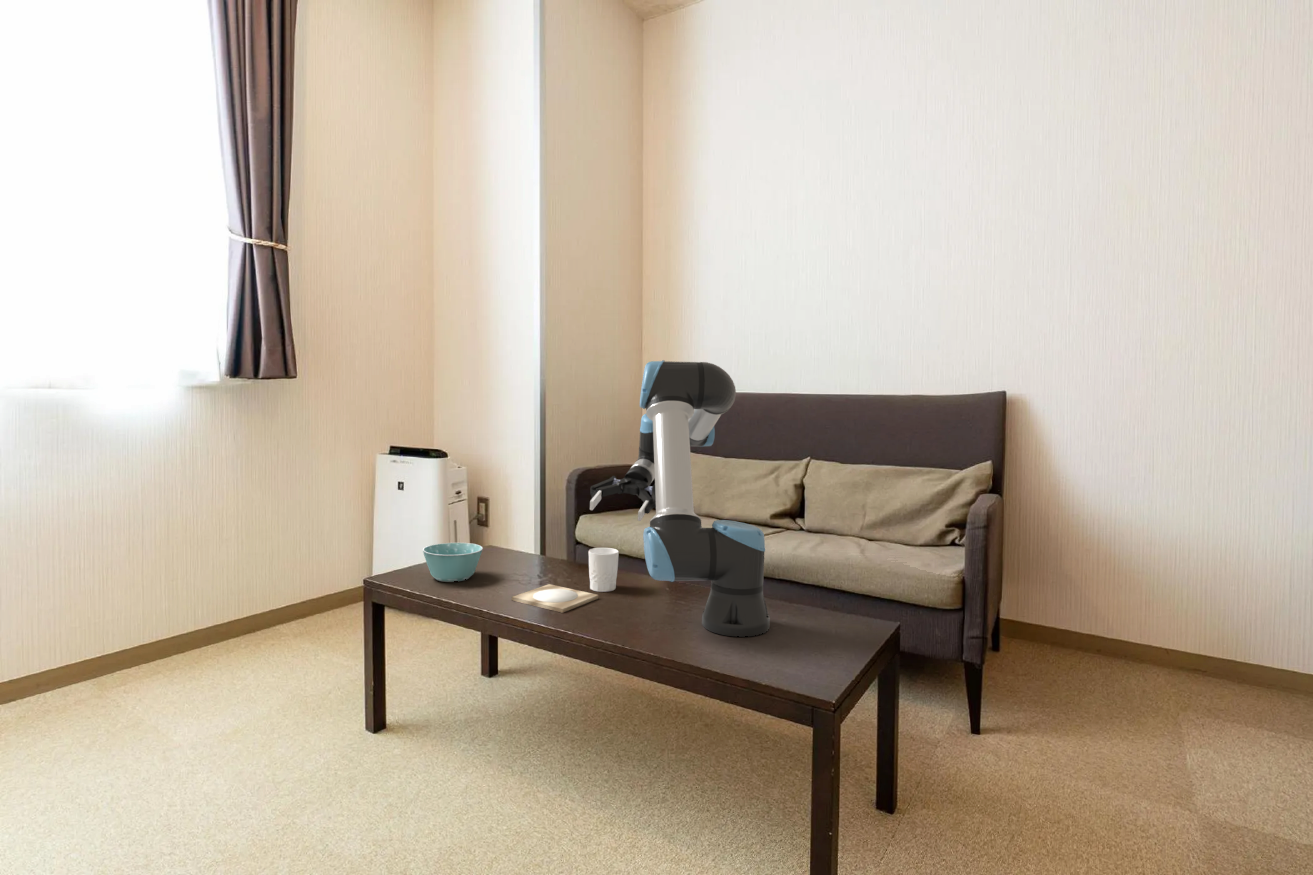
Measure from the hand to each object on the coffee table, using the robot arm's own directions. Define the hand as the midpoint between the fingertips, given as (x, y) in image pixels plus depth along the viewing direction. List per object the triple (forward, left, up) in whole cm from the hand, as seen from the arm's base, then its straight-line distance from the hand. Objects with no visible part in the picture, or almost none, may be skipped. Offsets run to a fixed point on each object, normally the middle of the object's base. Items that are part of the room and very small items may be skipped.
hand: (614, 511), depth 189 cm
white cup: (-2, +4, -20) cm, 21 cm away
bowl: (+26, +35, -20) cm, 48 cm away
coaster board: (-5, +19, -20) cm, 28 cm away
